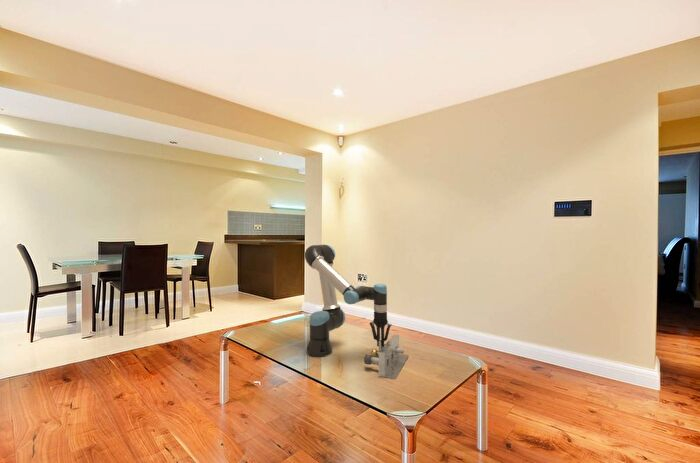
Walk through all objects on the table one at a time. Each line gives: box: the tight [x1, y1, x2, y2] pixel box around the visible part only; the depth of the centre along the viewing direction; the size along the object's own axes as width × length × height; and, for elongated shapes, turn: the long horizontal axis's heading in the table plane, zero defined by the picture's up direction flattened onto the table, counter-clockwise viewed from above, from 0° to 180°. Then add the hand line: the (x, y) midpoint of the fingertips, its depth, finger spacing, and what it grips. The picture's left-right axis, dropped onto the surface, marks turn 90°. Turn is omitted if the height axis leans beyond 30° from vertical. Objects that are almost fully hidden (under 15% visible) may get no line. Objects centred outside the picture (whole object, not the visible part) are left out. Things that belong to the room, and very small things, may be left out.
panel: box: [378, 333, 409, 380], centre depth 169 cm, size 8×30×12 cm, turn 157°
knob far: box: [384, 343, 405, 355], centre depth 179 cm, size 11×5×5 cm, turn 67°
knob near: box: [363, 353, 379, 366], centre depth 164 cm, size 11×5×5 cm, turn 67°
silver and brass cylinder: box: [370, 348, 379, 358], centre depth 172 cm, size 11×4×4 cm, turn 67°
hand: (380, 352), depth 181 cm, fingers closed
